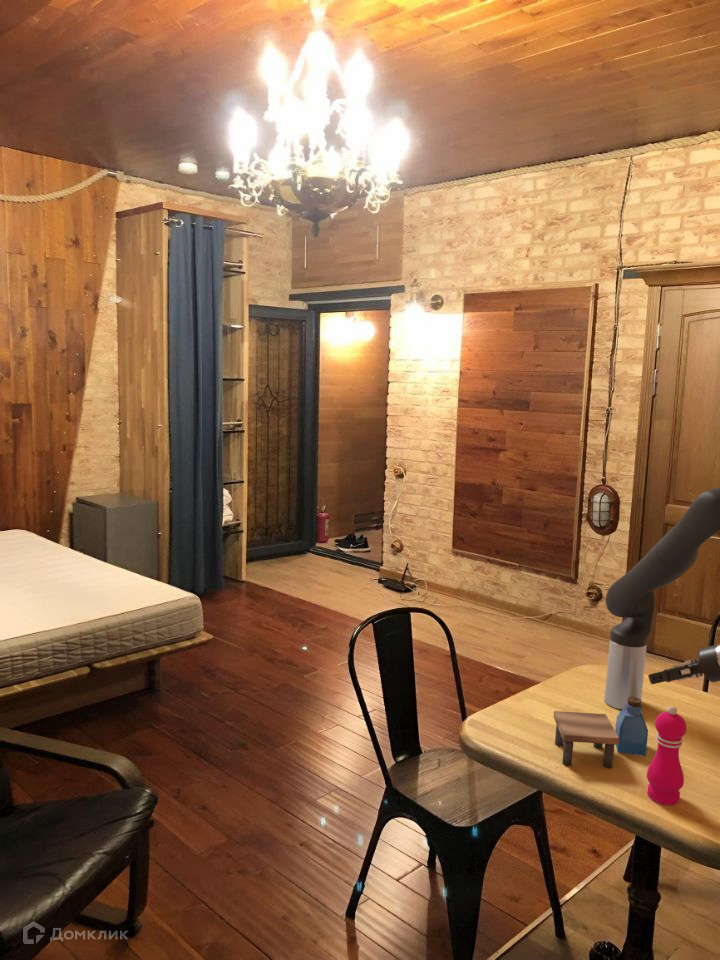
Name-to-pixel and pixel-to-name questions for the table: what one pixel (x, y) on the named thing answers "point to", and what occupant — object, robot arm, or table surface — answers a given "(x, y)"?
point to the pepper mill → (667, 759)
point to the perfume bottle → (632, 729)
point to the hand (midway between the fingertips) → (657, 676)
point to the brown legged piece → (585, 734)
